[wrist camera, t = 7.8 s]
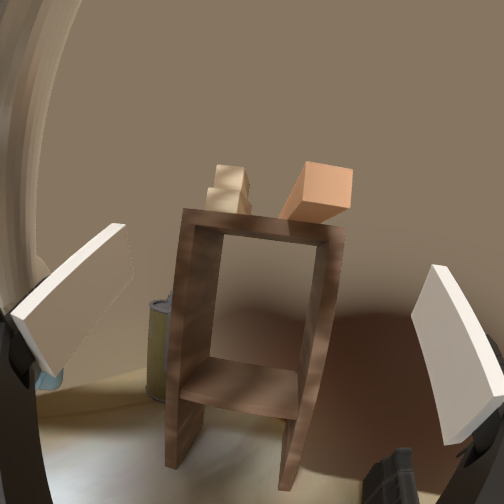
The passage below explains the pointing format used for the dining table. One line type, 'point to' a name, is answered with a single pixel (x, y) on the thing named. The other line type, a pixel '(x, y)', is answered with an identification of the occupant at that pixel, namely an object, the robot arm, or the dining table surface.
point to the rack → (201, 322)
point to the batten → (319, 193)
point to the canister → (158, 348)
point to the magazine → (391, 480)
